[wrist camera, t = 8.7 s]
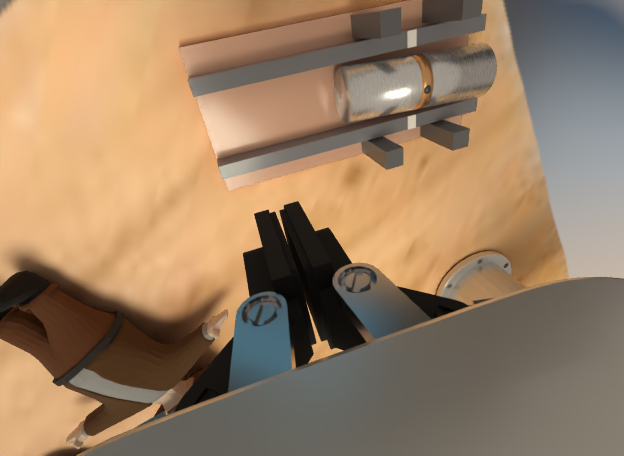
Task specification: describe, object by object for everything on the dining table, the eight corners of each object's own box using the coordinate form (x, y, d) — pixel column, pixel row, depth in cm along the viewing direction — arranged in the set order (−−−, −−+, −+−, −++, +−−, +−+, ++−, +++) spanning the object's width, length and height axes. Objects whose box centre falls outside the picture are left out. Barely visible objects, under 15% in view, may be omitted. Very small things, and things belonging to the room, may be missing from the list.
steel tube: (466, 39, 30) (504, 47, 26) (457, 89, 32) (489, 103, 29) (332, 61, 27) (354, 73, 24) (334, 113, 30) (354, 131, 27)
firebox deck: (454, 124, 35) (497, 139, 30) (227, 187, 31) (232, 216, 26) (464, -12, 29) (522, -22, 23) (179, 47, 25) (173, 50, 20)
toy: (73, 222, 24) (312, 401, 37) (114, 186, 32) (296, 342, 46) (-148, 413, 25) (157, 518, 39) (-53, 330, 34) (170, 440, 47)
